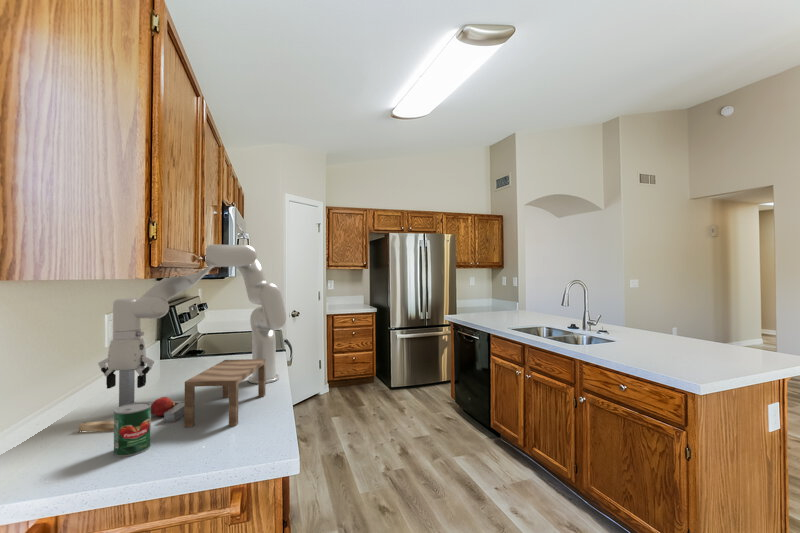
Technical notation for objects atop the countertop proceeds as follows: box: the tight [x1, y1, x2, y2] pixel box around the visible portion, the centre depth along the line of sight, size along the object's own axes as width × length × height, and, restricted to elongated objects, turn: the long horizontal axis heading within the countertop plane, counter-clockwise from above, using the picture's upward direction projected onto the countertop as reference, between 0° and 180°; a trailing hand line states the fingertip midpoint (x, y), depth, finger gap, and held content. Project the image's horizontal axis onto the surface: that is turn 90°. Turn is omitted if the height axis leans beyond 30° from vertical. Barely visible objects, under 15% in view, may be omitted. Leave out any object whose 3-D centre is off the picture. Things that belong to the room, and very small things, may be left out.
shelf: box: [183, 358, 267, 428], centre depth 127 cm, size 29×15×14 cm, turn 3°
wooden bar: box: [77, 420, 114, 432], centre depth 111 cm, size 14×2×2 cm, turn 99°
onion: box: [151, 396, 175, 417], centre depth 121 cm, size 6×6×8 cm
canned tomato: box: [113, 401, 152, 458], centre depth 98 cm, size 8×8×11 cm
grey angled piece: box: [118, 370, 185, 424], centre depth 121 cm, size 12×22×18 cm, turn 93°
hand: (126, 387), depth 125 cm, fingers open, 9 cm apart
